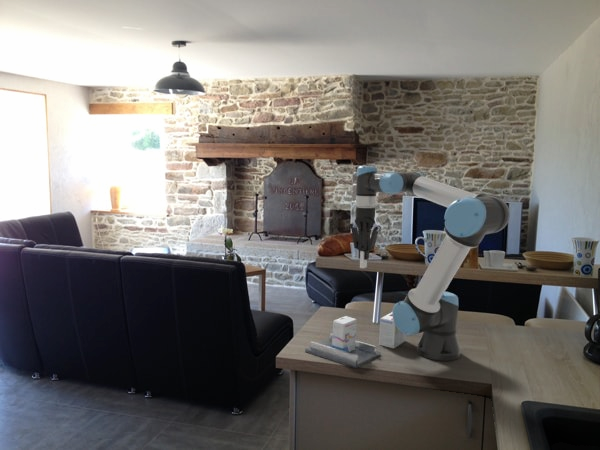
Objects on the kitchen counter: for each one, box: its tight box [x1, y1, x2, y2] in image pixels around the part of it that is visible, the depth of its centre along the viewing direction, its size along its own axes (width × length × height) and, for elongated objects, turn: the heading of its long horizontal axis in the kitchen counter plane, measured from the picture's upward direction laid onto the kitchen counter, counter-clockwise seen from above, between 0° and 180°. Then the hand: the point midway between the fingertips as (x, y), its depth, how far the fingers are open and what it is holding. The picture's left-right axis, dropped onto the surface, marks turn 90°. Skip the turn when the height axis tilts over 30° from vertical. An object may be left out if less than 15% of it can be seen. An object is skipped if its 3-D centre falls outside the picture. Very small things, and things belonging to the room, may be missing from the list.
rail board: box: [304, 332, 381, 369], centre depth 191 cm, size 22×16×4 cm
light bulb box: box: [378, 311, 407, 349], centre depth 202 cm, size 11×7×11 cm, turn 145°
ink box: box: [332, 315, 358, 352], centre depth 190 cm, size 9×5×12 cm, turn 141°
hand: (363, 267), depth 204 cm, fingers closed
